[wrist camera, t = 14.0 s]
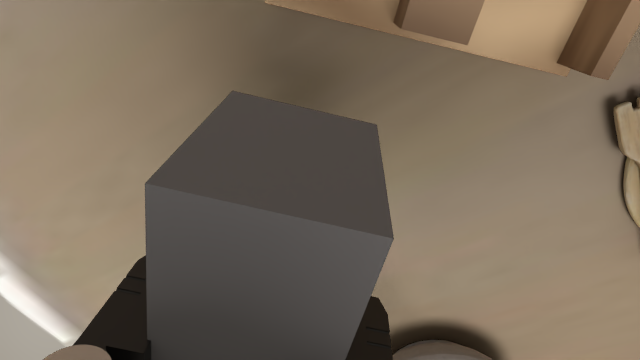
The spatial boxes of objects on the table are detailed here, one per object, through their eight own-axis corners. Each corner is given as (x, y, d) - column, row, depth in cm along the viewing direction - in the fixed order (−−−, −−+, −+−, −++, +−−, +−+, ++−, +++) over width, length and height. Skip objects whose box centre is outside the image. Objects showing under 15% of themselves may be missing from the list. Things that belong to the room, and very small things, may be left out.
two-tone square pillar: (232, 90, 9) (145, 183, 5) (376, 124, 9) (393, 239, 6) (207, 332, 14) (148, 479, 10) (305, 352, 14) (287, 505, 10)
